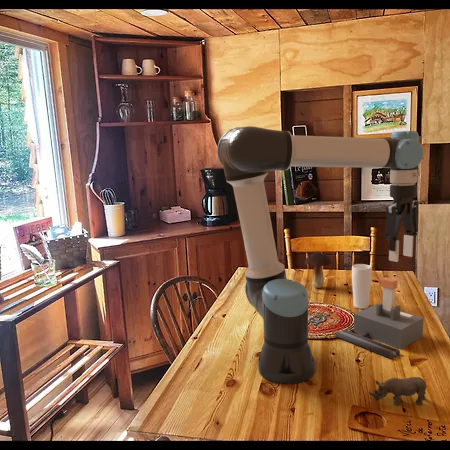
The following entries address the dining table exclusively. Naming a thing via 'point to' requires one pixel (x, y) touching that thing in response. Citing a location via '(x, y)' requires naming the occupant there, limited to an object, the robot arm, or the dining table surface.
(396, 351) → the cable bundle
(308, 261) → the decorative mushroom
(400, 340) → the switch block
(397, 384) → the rhino figurine
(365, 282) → the tall cup
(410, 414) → the dining table surface
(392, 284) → the toggle lever
